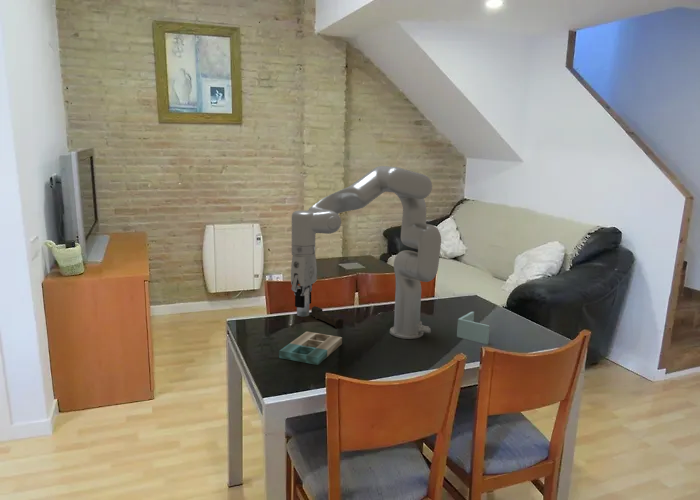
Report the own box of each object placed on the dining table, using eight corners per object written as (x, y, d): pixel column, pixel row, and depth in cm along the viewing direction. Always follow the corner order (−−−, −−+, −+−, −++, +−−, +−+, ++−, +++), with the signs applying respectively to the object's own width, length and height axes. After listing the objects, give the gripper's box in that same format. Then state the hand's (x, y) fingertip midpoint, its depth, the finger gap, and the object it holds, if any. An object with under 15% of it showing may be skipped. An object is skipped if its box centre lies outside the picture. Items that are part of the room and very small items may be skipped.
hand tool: (344, 327, 204) (344, 316, 203) (335, 329, 201) (335, 318, 200) (317, 315, 218) (317, 304, 218) (309, 316, 216) (309, 305, 215)
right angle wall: (487, 346, 189) (488, 326, 187) (456, 338, 196) (457, 319, 194) (500, 337, 198) (501, 317, 197) (470, 329, 205) (471, 311, 204)
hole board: (341, 343, 186) (342, 337, 186) (317, 365, 168) (318, 357, 167) (306, 338, 191) (306, 331, 191) (279, 357, 173) (279, 350, 173)
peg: (311, 313, 172) (311, 286, 170) (305, 317, 168) (305, 289, 166) (300, 311, 173) (300, 285, 172) (294, 315, 170) (294, 288, 168)
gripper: (302, 255, 158) (301, 314, 161) (325, 246, 173) (324, 300, 176) (280, 253, 160) (280, 310, 164) (304, 244, 176) (304, 297, 179)
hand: (303, 304), depth 170 cm, fingers closed on peg, 4 cm apart
